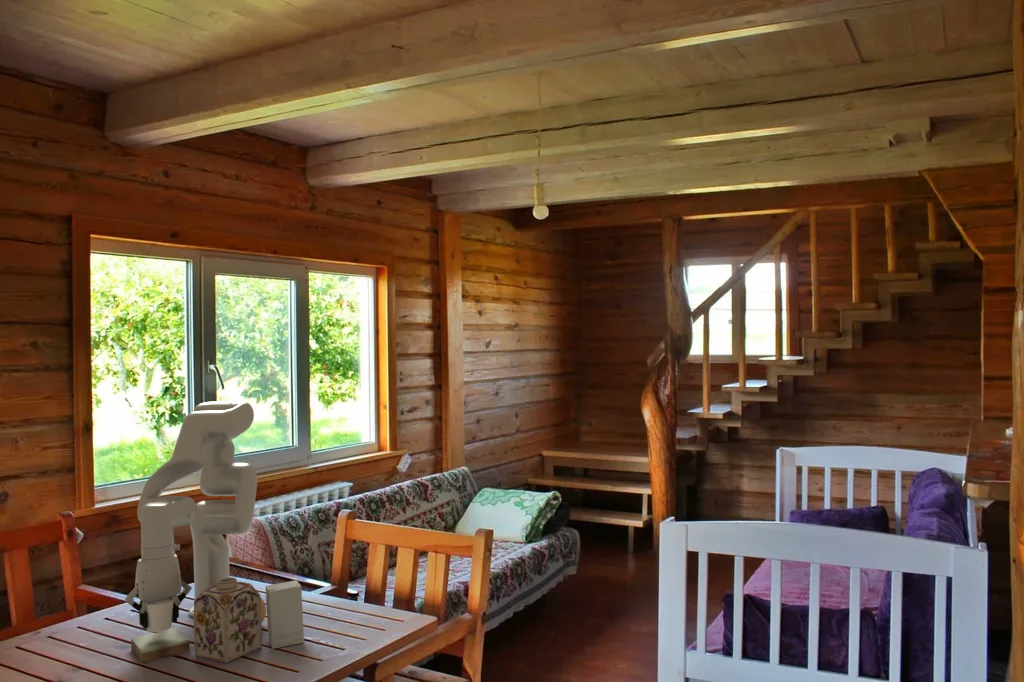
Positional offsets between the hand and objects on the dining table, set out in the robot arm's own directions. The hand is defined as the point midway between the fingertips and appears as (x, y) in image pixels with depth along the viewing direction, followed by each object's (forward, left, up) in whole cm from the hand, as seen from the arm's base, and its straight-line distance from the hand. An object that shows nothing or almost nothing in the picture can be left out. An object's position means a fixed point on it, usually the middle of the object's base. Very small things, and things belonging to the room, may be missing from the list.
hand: (159, 623), depth 204 cm
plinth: (0, 0, -7) cm, 7 cm away
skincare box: (-26, +16, -7) cm, 31 cm away
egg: (-24, -1, -7) cm, 25 cm away
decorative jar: (-13, +12, -7) cm, 19 cm away
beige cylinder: (0, 0, -1) cm, 1 cm away
